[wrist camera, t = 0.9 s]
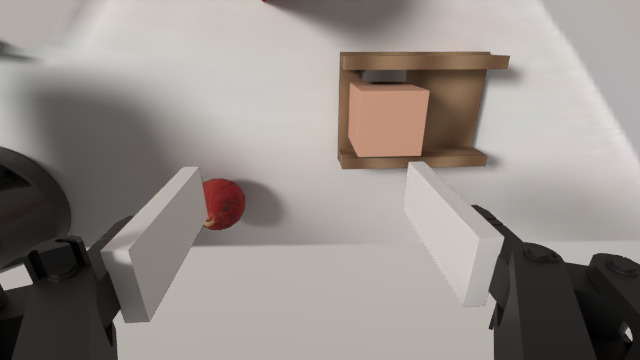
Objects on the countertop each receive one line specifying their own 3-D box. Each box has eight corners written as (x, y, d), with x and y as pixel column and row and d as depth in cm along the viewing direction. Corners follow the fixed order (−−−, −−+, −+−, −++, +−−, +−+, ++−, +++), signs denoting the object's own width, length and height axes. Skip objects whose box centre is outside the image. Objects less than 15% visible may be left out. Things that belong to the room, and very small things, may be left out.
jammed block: (348, 137, 35) (358, 156, 29) (349, 82, 33) (361, 91, 27) (399, 136, 36) (420, 155, 29) (405, 82, 33) (429, 90, 27)
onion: (236, 162, 37) (220, 190, 30) (257, 201, 39) (246, 236, 32) (193, 178, 38) (167, 210, 30) (216, 216, 40) (197, 254, 33)
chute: (337, 158, 38) (342, 171, 34) (340, 52, 33) (345, 52, 29) (464, 155, 38) (484, 168, 34) (485, 51, 34) (510, 52, 30)
